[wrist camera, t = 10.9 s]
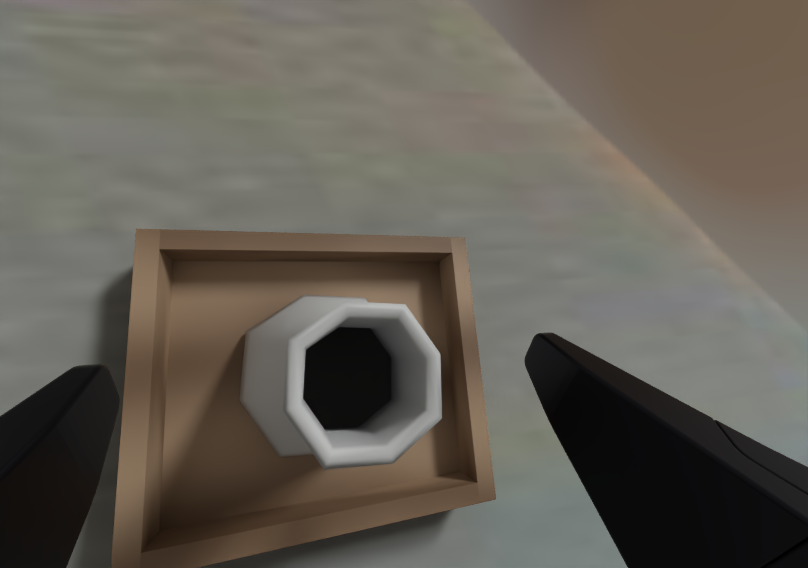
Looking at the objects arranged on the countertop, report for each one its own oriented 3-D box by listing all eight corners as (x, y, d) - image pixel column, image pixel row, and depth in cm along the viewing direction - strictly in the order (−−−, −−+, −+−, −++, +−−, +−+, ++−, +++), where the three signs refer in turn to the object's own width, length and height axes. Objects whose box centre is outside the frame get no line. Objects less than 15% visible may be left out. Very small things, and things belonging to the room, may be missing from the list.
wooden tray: (469, 481, 18) (496, 499, 15) (140, 549, 14) (109, 587, 11) (445, 252, 20) (465, 237, 18) (159, 248, 16) (136, 228, 14)
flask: (420, 419, 17) (577, 487, 8) (262, 487, 14) (205, 712, 5) (375, 276, 18) (466, 180, 8) (219, 317, 15) (103, 243, 6)
